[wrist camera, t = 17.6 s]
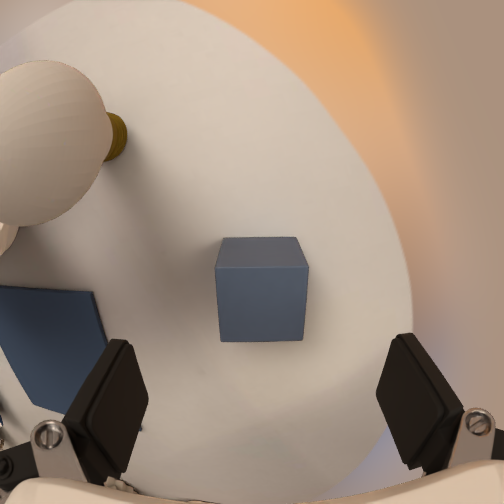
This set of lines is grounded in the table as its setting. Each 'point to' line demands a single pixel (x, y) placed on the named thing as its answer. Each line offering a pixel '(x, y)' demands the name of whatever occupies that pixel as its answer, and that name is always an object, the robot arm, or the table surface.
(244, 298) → the slate block
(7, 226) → the mug
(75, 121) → the light bulb
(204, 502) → the sitting furry creature
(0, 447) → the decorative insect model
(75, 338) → the navy blue mat
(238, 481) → the table surface
